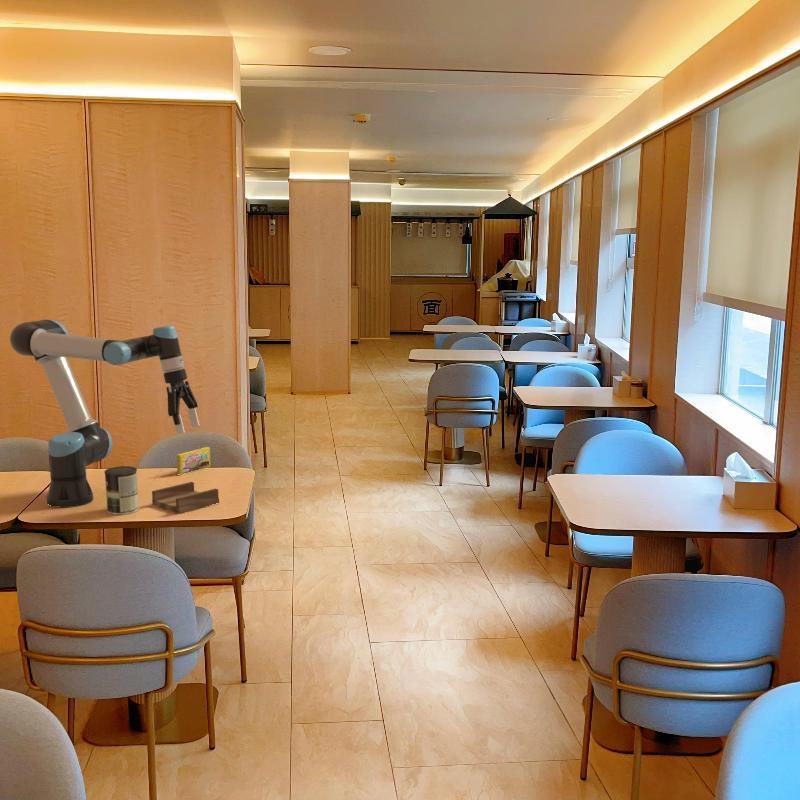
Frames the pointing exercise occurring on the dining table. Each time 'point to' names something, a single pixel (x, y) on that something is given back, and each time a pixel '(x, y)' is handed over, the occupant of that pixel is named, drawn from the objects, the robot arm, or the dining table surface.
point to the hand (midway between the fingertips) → (188, 430)
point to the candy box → (193, 460)
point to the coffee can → (121, 490)
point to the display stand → (183, 498)
